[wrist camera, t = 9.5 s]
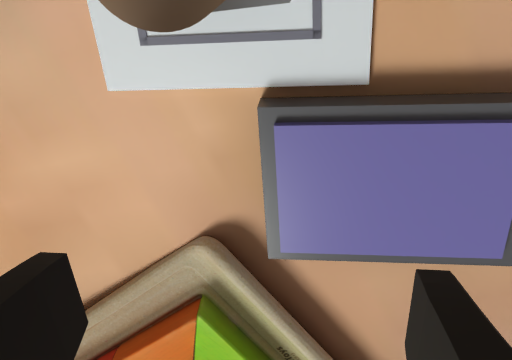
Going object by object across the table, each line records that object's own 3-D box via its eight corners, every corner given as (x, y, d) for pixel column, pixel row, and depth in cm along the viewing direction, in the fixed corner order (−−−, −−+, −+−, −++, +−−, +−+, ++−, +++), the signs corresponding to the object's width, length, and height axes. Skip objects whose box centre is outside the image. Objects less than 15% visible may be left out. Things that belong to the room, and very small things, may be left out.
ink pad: (543, 92, 16) (559, 105, 15) (504, 250, 20) (515, 270, 19) (260, 98, 18) (256, 110, 17) (270, 244, 21) (267, 263, 20)
